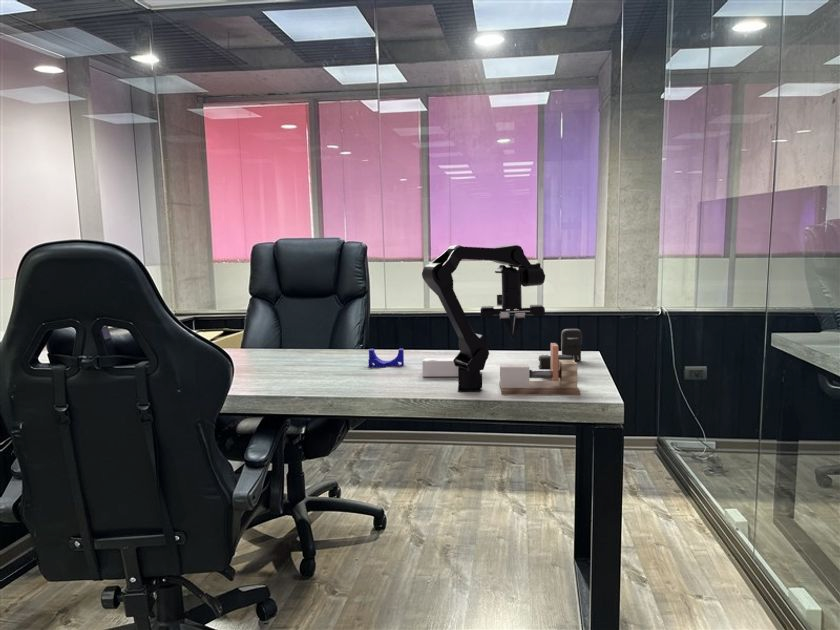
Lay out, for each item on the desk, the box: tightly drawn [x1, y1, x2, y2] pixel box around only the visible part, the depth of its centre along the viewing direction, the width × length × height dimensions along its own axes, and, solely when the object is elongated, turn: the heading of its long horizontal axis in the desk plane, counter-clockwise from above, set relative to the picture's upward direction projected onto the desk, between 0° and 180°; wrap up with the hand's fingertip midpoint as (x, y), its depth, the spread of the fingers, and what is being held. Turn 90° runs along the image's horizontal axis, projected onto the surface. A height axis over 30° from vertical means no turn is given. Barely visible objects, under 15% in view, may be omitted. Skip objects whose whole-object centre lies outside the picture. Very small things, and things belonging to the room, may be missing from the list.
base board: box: [499, 380, 581, 396], centre depth 163 cm, size 22×12×1 cm, turn 85°
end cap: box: [538, 354, 573, 370], centre depth 179 cm, size 10×7×7 cm
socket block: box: [558, 360, 578, 388], centre depth 162 cm, size 4×6×7 cm
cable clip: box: [367, 348, 405, 368], centre depth 200 cm, size 12×4×6 cm, turn 87°
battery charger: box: [560, 328, 583, 362], centre depth 200 cm, size 7×4×11 cm, turn 84°
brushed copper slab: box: [529, 342, 561, 381], centre depth 162 cm, size 13×5×10 cm, turn 85°
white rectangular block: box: [499, 363, 530, 388], centre depth 163 cm, size 8×5×6 cm, turn 85°
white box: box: [421, 357, 458, 377], centre depth 185 cm, size 18×10×10 cm, turn 85°
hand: (512, 339), depth 170 cm, fingers closed
